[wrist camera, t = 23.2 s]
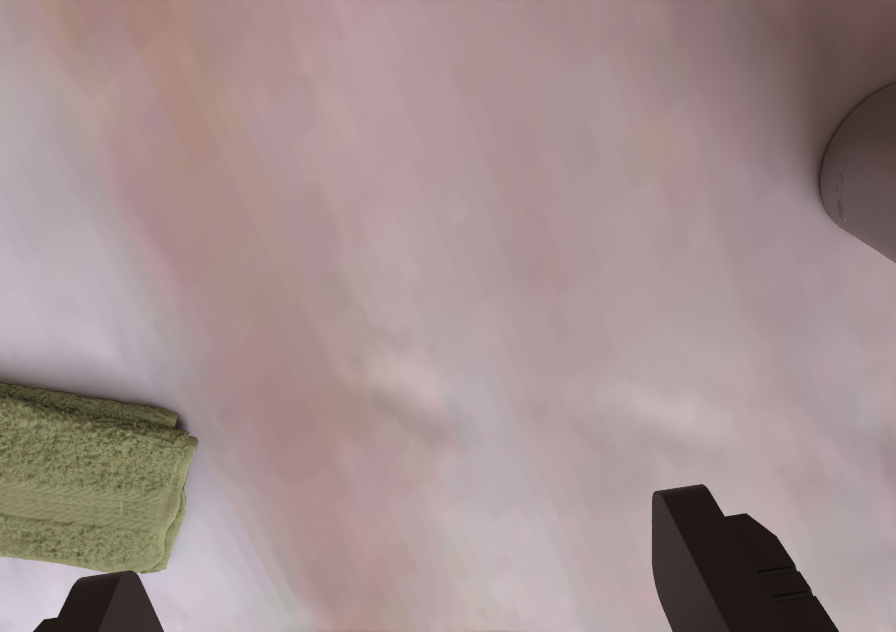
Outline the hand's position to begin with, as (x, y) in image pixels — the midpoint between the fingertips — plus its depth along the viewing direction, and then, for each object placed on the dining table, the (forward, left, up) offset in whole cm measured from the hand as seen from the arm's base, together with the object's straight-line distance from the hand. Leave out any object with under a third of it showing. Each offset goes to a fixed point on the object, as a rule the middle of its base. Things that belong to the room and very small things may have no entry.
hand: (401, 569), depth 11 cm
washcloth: (+25, +18, -31) cm, 43 cm away
